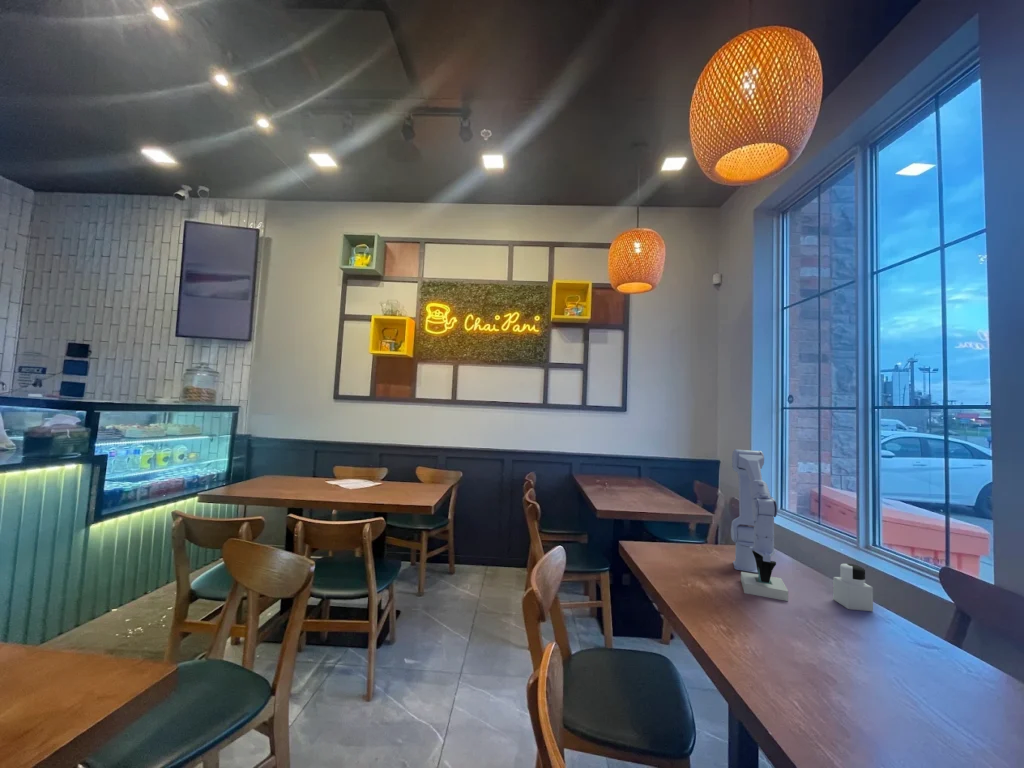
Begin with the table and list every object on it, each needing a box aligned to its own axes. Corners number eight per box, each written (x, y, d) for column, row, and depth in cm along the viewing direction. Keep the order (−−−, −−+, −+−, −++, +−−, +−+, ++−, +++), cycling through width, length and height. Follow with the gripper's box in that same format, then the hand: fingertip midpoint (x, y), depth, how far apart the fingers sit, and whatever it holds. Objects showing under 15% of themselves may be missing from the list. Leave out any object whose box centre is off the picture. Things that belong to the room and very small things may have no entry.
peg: (758, 587, 143) (758, 566, 143) (769, 590, 141) (769, 568, 142) (758, 590, 140) (758, 568, 141) (769, 593, 139) (769, 570, 139)
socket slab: (740, 580, 149) (740, 571, 149) (781, 587, 144) (781, 578, 144) (744, 593, 138) (744, 583, 138) (788, 601, 133) (788, 591, 133)
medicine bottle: (856, 601, 135) (856, 562, 136) (873, 611, 128) (873, 570, 129) (832, 599, 136) (832, 560, 137) (847, 609, 129) (847, 568, 130)
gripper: (747, 528, 150) (747, 568, 149) (752, 539, 137) (752, 583, 136) (771, 531, 147) (770, 572, 146) (778, 542, 134) (778, 587, 133)
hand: (763, 577), depth 141 cm, fingers open, 7 cm apart
